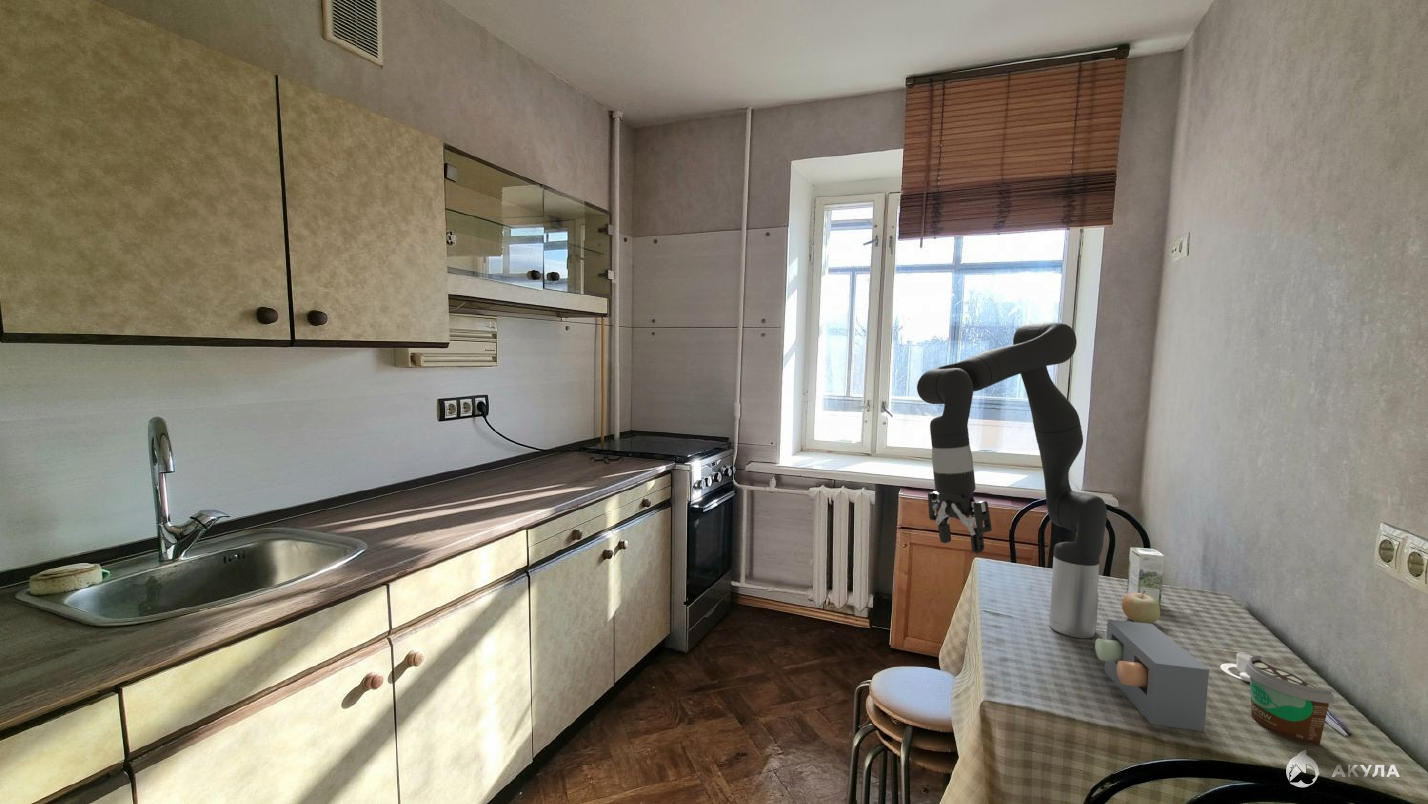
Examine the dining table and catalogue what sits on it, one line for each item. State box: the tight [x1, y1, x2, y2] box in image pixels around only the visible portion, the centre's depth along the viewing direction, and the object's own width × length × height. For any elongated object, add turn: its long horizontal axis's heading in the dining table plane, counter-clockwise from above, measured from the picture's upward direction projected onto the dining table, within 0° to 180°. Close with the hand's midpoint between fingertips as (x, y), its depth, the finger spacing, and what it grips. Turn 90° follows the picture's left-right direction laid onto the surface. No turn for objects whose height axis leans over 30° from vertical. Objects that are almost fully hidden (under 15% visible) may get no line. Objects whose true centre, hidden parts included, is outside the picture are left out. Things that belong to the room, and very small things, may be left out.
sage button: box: [1094, 637, 1124, 662], centre depth 112 cm, size 4×4×4 cm
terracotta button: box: [1117, 661, 1149, 687], centre depth 103 cm, size 4×4×4 cm
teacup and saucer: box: [1220, 652, 1254, 683], centre depth 116 cm, size 9×8×4 cm
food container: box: [1245, 654, 1335, 745], centre depth 99 cm, size 12×6×10 cm, turn 5°
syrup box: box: [1126, 546, 1165, 608], centre depth 152 cm, size 6×6×14 cm
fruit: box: [1121, 591, 1161, 624], centre depth 141 cm, size 8×7×8 cm
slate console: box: [1103, 618, 1210, 732], centre depth 106 cm, size 8×18×11 cm, turn 167°
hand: (961, 546), depth 114 cm, fingers open, 8 cm apart
